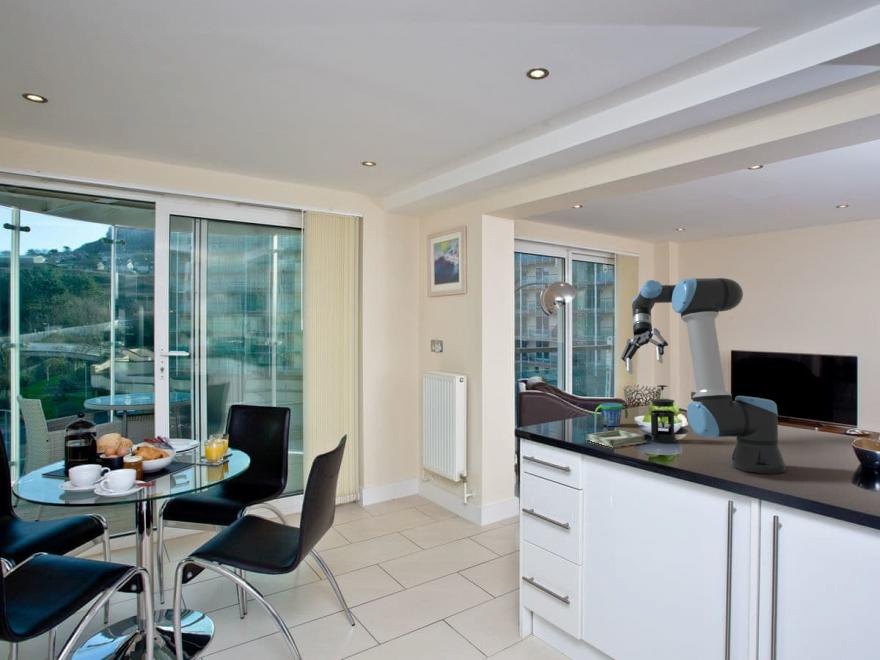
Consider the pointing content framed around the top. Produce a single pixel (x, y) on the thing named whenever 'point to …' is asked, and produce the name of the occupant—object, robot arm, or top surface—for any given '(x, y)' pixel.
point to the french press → (663, 435)
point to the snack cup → (611, 413)
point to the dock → (616, 438)
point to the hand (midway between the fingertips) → (644, 367)
